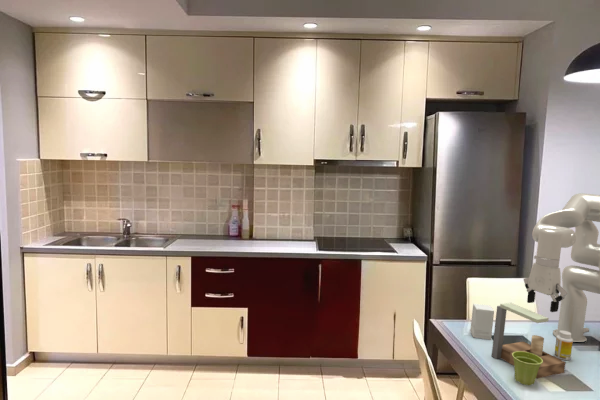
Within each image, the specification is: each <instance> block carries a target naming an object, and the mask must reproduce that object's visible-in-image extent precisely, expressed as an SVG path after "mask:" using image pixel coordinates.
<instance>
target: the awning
mask: <svg viewBox="0 0 600 400" xmlns="http://www.w3.org/2000/svg"><path fill="white" fill-rule="evenodd" d="M507 311H508V312H511V313H513V314H515V315H518V316H520V317H522V318H524V319H527V320H529V321H531V322H534V323H536V324H539V323H546V322H549V319H550V318H549V317H546V316H544V315H543V314H540V313H537V312H536V311H535V312H534V311H532V310H530V309H527V308H524V307H523V306H520V305H519V304H518V305H517V304H515V303H512V302H505V303H500V304H499V305H497V306H496V311H495V312H496V315H495V321H494V332H493V340H492V347H491V348H492V349H491V357H492V358H494V359H495V360H498V359H501V352H502V346H503V345H504V336H505V328H506V319H507Z"/></svg>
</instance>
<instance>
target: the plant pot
mask: <svg viewBox="0 0 600 400" xmlns="http://www.w3.org/2000/svg"><path fill="white" fill-rule="evenodd" d="M512 356H513V359H514V365H513V366H514V367H513V368H514V369H513V371H514V380H515V381H516V382H518V383H519V384H521V385H523V386H532V385H534V384H535V383H536V379H537V378H536V376H537V373H538V370H539V367H540V366H541V364H542V363H543V360H542V359H541V358H540V357H539V356H537V355H535V354H532V353H529V352H523V351H516V352H513V353H512Z"/></svg>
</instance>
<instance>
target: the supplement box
mask: <svg viewBox="0 0 600 400" xmlns="http://www.w3.org/2000/svg"><path fill="white" fill-rule="evenodd" d="M494 315H495V310H494V308H492V306H491V305H489V304H479V303H473V304H472V312H471V321H470V322H471V323H470V334H471V335H472V337H473V338H476V339H481V340H483V339H484V340H490V341H491V340H492V334H493V324H494Z"/></svg>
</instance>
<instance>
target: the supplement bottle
mask: <svg viewBox="0 0 600 400" xmlns="http://www.w3.org/2000/svg"><path fill="white" fill-rule="evenodd" d="M573 345H574V343H573V339H572V338H571V333H570V332H568V331H560V332H559V335H557V337H556V336H555V345H554V353H553V354H554V355H553V356H554V357H556V358H558V359H560V360H562V361H569V360H571V358H572V350H573Z"/></svg>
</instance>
